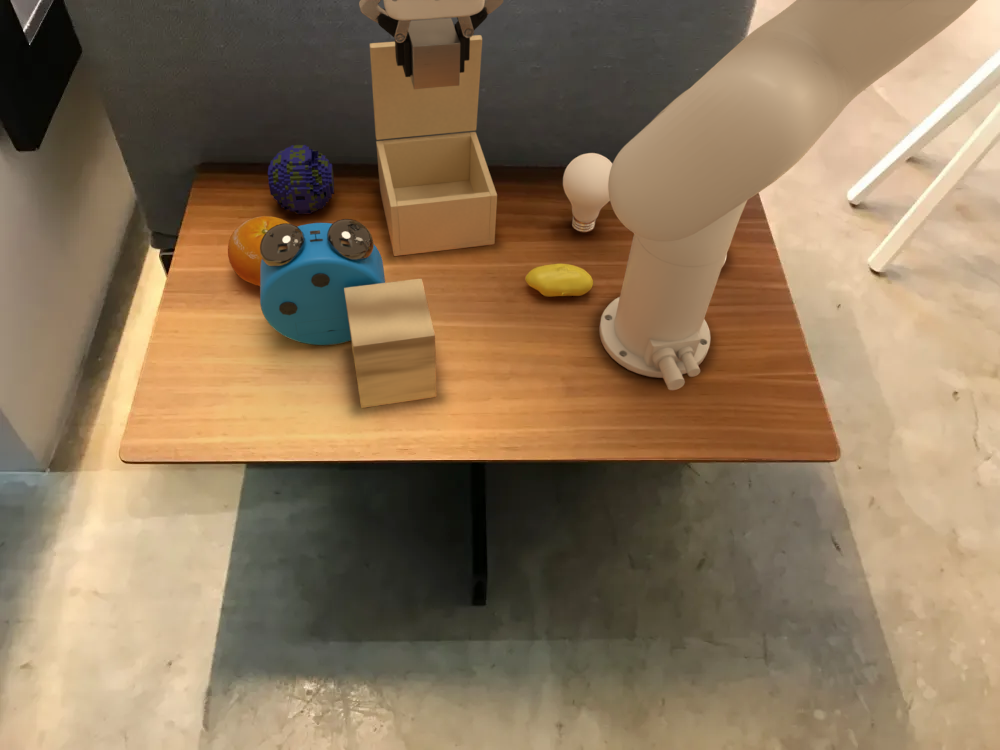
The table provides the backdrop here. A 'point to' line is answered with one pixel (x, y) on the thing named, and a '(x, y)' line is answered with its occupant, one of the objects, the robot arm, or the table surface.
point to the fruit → (250, 247)
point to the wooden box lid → (422, 97)
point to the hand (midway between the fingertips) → (432, 66)
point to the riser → (392, 342)
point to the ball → (301, 179)
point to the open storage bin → (436, 193)
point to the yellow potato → (559, 280)
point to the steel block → (434, 53)
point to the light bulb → (587, 188)
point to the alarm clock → (315, 277)
